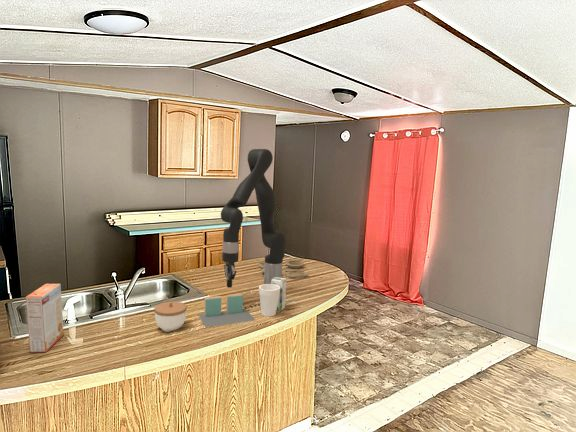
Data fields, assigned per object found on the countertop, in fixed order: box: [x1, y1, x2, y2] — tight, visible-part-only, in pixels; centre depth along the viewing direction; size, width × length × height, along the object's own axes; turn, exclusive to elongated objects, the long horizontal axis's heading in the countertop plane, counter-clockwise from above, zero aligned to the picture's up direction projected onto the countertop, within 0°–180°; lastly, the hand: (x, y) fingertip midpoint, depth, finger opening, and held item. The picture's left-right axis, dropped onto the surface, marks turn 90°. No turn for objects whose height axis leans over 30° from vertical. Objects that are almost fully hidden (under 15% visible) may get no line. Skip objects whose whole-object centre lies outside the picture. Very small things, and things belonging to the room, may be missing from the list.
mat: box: [197, 308, 256, 328], centre depth 178 cm, size 22×14×1 cm, turn 114°
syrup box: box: [271, 277, 287, 312], centre depth 192 cm, size 6×6×14 cm
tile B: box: [203, 295, 222, 317], centre depth 180 cm, size 7×2×8 cm, turn 114°
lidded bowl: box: [153, 301, 188, 333], centre depth 166 cm, size 13×13×11 cm
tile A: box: [225, 293, 244, 314], centre depth 184 cm, size 7×2×8 cm, turn 114°
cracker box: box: [25, 283, 65, 353], centre depth 148 cm, size 14×6×21 cm, turn 5°
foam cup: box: [258, 283, 280, 317], centre depth 184 cm, size 10×9×13 cm
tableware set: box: [257, 259, 309, 279], centre depth 255 cm, size 35×29×4 cm
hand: (229, 286), depth 190 cm, fingers closed
